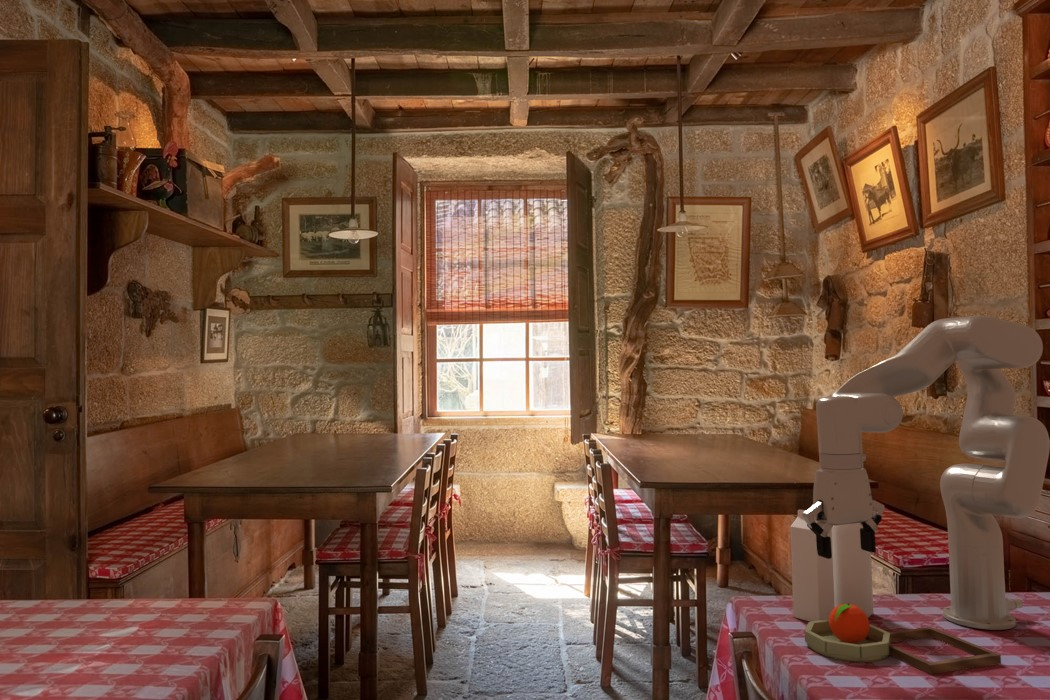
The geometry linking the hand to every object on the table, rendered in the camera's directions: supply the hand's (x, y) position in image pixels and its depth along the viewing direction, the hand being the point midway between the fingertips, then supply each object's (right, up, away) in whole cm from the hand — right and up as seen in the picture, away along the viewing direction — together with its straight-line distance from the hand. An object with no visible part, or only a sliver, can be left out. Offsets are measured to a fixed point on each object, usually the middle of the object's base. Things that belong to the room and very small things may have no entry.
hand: (846, 554), depth 134 cm
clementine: (0, -16, -1) cm, 16 cm away
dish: (0, -17, -1) cm, 17 cm away
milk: (0, -18, +16) cm, 24 cm away
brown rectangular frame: (+13, -17, -5) cm, 22 cm away
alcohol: (+9, -18, +18) cm, 27 cm away
